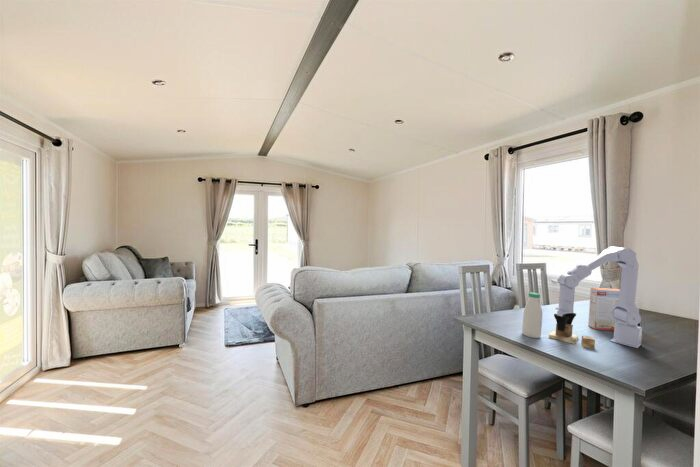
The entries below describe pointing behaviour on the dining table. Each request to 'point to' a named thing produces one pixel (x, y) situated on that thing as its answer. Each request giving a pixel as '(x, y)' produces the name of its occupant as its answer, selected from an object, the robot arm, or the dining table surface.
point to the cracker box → (602, 308)
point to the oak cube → (588, 342)
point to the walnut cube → (565, 331)
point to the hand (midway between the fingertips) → (564, 329)
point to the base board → (570, 339)
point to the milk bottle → (532, 317)
